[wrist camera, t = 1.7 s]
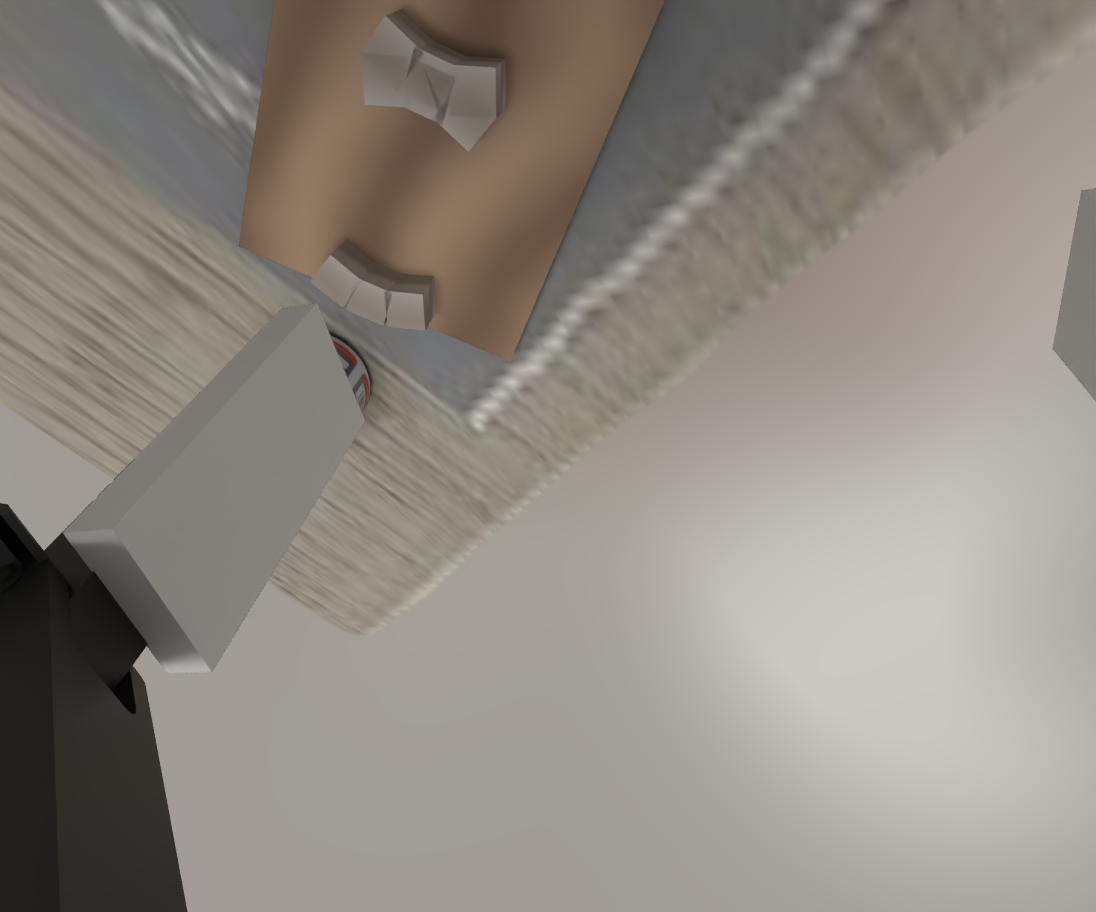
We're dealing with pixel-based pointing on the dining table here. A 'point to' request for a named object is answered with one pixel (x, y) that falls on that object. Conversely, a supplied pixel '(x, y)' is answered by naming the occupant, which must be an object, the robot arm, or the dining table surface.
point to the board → (434, 150)
